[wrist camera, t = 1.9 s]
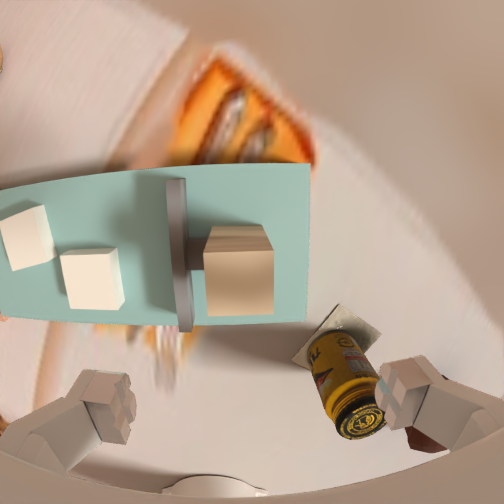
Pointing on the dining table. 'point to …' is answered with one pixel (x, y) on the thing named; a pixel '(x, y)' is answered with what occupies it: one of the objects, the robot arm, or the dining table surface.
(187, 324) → the scraper
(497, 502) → the robot arm
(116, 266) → the tile
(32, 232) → the tile
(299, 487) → the dining table surface
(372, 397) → the condiment
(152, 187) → the board
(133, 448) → the dining table surface
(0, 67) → the tan oval lump
